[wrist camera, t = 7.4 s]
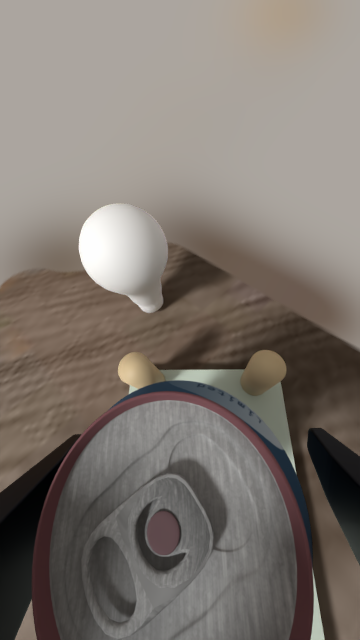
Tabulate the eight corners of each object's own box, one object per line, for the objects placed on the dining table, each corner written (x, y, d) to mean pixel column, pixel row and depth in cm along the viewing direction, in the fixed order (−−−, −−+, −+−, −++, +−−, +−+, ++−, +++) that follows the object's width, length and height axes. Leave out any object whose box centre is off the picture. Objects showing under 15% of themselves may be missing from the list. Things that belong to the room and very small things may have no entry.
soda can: (207, 386, 17) (192, 320, 6) (274, 473, 14) (456, 620, 3) (134, 444, 16) (-28, 482, 5) (190, 552, 13) (78, 1109, 2)
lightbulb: (172, 274, 24) (144, 171, 14) (190, 320, 21) (169, 232, 12) (120, 292, 24) (56, 200, 14) (131, 341, 21) (59, 268, 12)
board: (336, 754, 10) (477, 1133, 5) (99, 702, 12) (0, 938, 6) (274, 372, 18) (301, 349, 13) (136, 373, 20) (106, 352, 14)
